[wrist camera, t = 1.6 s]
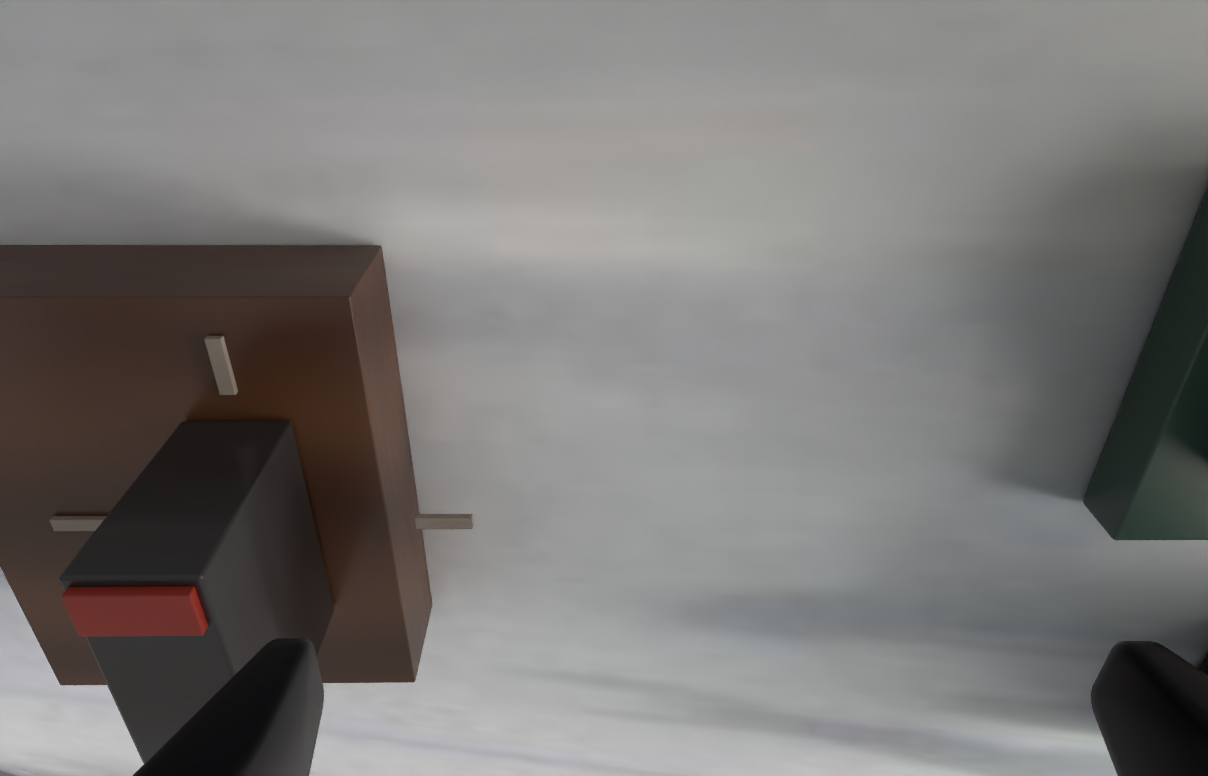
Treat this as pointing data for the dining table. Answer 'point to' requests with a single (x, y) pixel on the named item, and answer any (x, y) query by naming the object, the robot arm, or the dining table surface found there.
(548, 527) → the dining table surface
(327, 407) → the panel
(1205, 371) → the button block
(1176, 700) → the robot arm
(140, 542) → the handle
